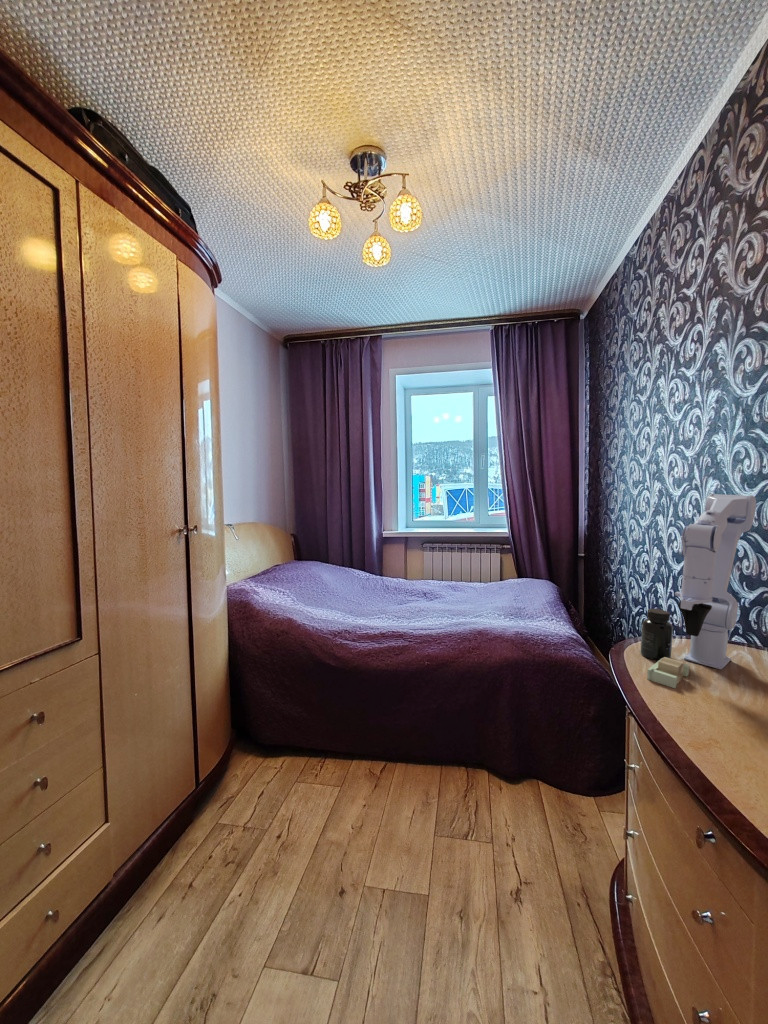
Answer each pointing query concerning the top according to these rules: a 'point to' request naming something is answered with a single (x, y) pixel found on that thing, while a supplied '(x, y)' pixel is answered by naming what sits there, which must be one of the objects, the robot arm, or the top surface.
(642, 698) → the top surface
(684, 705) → the top surface
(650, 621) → the supplement bottle
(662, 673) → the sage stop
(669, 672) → the birch block
